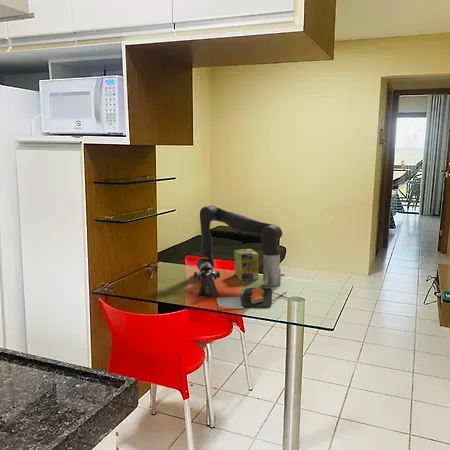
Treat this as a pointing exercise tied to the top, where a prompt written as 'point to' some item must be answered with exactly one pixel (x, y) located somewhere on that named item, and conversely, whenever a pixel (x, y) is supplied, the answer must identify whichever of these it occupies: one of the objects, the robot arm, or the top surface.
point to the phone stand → (211, 286)
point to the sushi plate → (258, 297)
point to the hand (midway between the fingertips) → (207, 278)
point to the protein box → (246, 264)
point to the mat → (230, 302)
